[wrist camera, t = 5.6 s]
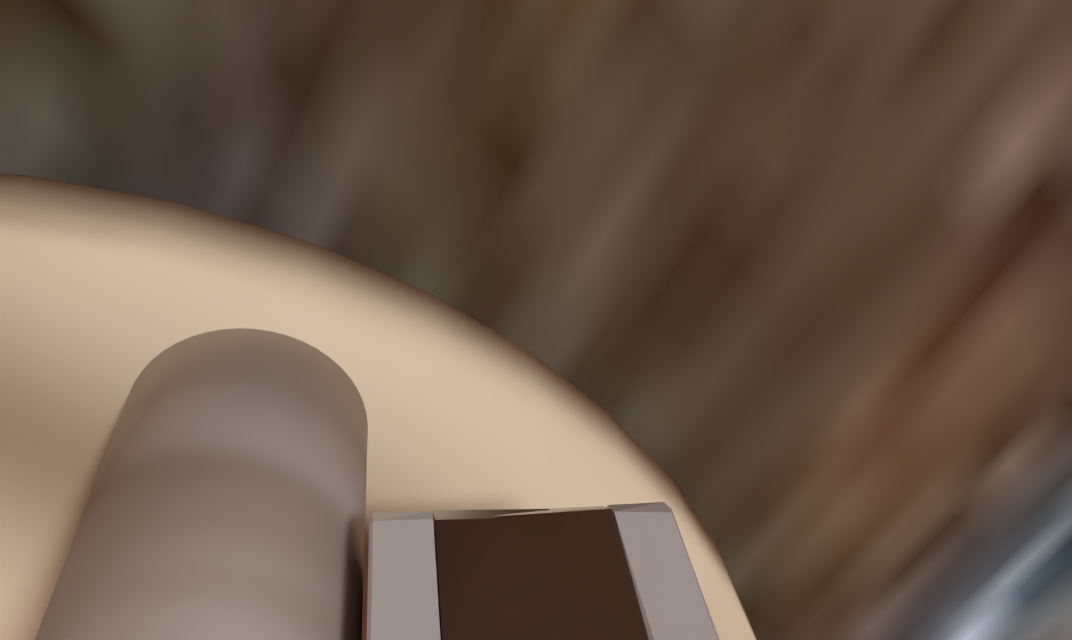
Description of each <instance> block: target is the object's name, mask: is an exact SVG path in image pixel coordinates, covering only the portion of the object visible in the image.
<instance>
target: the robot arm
mask: <svg viewBox="0 0 1072 640" xmlns="http://www.w3.org/2000/svg"><path fill="white" fill-rule="evenodd" d="M367 640H719V637H718V634H717V631H716V629H715V626H714V623H713V620H712V618H711V615H710V612H709V610H708V607H707V604H706V601H705V599H704V596H703V593H702V590H701V588H700V585H699V582H698V580H697V577H696V574H695V571H694V569H693V566H692V563H691V560H690V558H689V555H688V552H687V550H686V547H685V544H684V541H683V539H682V536H681V533H680V530H679V528H678V525H677V522H676V520H675V517H674V514H673V511H672V509H671V508H670V507H669V506H668V505H667V504H666V503H664V502H653V503H634V504H615V505H608V506H607V507H604V506H593V507H569V508H545V509H494V510H433V517H432V514H431V512H430V511H419V512H372V514H371V519H370V523H369V554H368V598H367Z"/></svg>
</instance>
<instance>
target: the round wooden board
mask: <svg viewBox="0 0 1072 640" xmlns="http://www.w3.org/2000/svg"><path fill="white" fill-rule="evenodd" d="M653 502H664V503H666V504H667V505H668V506H669V507H670V508H671V509H672V511H673V514H674V517H675V520H676V522H677V525H678V528H679V530H680V533H681V536H682V539H683V541H684V544H685V547H686V550H687V552H688V555H689V558H690V560H691V563H692V566H693V569H694V571H695V574H696V577H697V580H698V582H699V585H700V588H701V590H702V593H703V596H704V599H705V601H706V604H707V607H708V610H709V612H710V615H711V618H712V620H713V623H714V626H715V629H716V631H717V634H718V637H719V640H757V639H756V637H755V634H754V632H753V629H752V627H751V624H750V622H749V619H748V617H747V614H746V612H745V609H744V607H743V605H742V602H741V600H740V598H739V596H738V593H737V591H736V589H735V587H734V584H733V582H732V580H731V578H730V575H729V573H728V571H727V569H726V566H725V564H724V562H723V560H722V557H721V555H720V553H719V551H718V548H717V546H716V544H715V542H714V541H713V539H712V538H711V536H710V535H709V533H708V532H707V530H706V529H705V527H704V526H703V524H702V523H701V522H700V520H699V519H698V517H697V516H696V514H695V513H694V511H693V510H692V508H691V507H690V505H689V504H688V502H687V501H686V500H685V498H684V497H683V495H682V494H681V492H680V491H679V489H678V488H677V486H676V485H675V483H674V482H673V480H672V479H671V478H670V477H669V476H668V474H667V473H666V472H665V471H664V470H663V469H662V468H661V467H660V466H659V465H658V464H657V463H656V462H655V461H654V460H653V459H652V458H651V457H650V456H649V455H648V454H647V453H646V451H645V450H644V449H643V448H642V447H641V446H640V445H639V444H638V443H637V442H636V441H635V440H634V439H633V438H632V437H631V436H630V435H629V434H628V433H627V432H626V431H625V430H624V428H623V427H622V426H621V425H620V424H619V423H618V422H617V421H616V420H615V419H614V418H613V417H612V416H611V415H610V414H609V413H608V412H607V411H605V410H604V409H603V408H602V407H600V406H599V405H598V404H596V403H595V402H594V401H593V400H591V399H590V398H589V397H587V396H586V395H585V394H584V393H582V392H581V391H580V390H578V389H577V388H576V387H574V386H573V385H572V384H571V383H569V382H568V381H567V380H565V379H564V378H563V377H562V376H560V375H559V374H558V373H556V372H555V371H554V370H553V369H551V368H550V367H549V366H547V365H546V364H545V363H544V362H542V361H541V360H540V359H538V358H537V357H536V356H534V355H533V354H532V353H531V352H529V351H528V350H526V349H525V348H523V347H521V346H519V345H518V344H516V343H514V342H513V341H511V340H509V339H507V338H506V337H504V336H502V335H500V334H499V333H497V332H495V331H494V330H492V329H490V328H488V327H487V326H485V325H483V324H481V323H480V322H478V321H476V320H475V319H473V318H471V317H469V316H468V315H466V314H464V313H462V312H461V311H459V310H457V309H456V308H454V307H452V306H450V305H449V304H447V303H445V302H443V301H442V300H440V299H438V298H437V297H435V296H433V295H431V294H430V293H428V292H426V291H423V290H421V289H419V288H416V287H414V286H412V285H409V284H407V283H404V282H402V281H400V280H397V279H395V278H393V277H390V276H388V275H386V274H383V273H381V272H379V271H376V270H374V269H372V268H369V267H367V266H365V265H362V264H360V263H357V262H355V261H353V260H350V259H348V258H346V257H343V256H341V255H339V254H336V253H334V252H332V251H329V250H327V249H325V248H322V247H320V246H318V245H315V244H313V243H310V242H308V241H304V240H301V239H297V238H294V237H291V236H287V235H284V234H281V233H277V232H274V231H270V230H267V229H264V228H260V227H257V226H253V225H250V224H247V223H243V222H240V221H237V220H233V219H230V218H226V217H223V216H220V215H216V214H213V213H210V212H206V211H203V210H199V209H196V208H193V207H189V206H186V205H182V204H179V203H176V202H171V201H166V200H160V199H154V198H149V197H143V196H138V195H132V194H126V193H121V192H115V191H110V190H104V189H98V188H93V187H87V186H82V185H76V184H70V183H65V182H59V181H54V180H48V179H42V178H37V177H31V176H26V175H11V174H0V640H367V598H368V554H369V523H370V519H371V514H372V512H419V511H430V512H431V514H432V517H433V510H494V509H545V508H569V507H593V506H604V507H607V506H608V505H615V504H634V503H653Z"/></svg>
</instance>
